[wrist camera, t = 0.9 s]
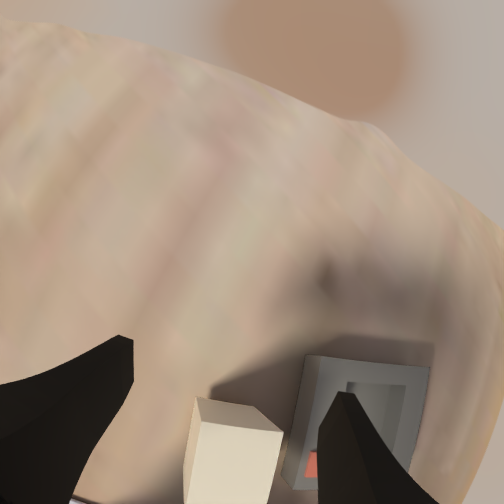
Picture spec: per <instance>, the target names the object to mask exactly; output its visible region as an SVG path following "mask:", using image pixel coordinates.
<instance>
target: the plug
mask: <svg viewBox="0 0 504 504" xmlns="http://www.w3.org/2000/svg"><path fill="white" fill-rule="evenodd" d="M283 433H284V432H283V431H282V430H280V429H279V428H278V427H277V426H276V425H275V424H273V423H272V422H271V421H270V420H269V419H268V418H266V417H265V416H264V415H263V414H262V413H261V412H260V411H259V410H257V409H256V408H255V407H254V406H248V405H242V404H235V403H229V402H223V401H217V400H212V399H206V398H201V397H196V399H195V404H194V410H193V415H192V420H191V426H190V431H189V437H188V442H187V448H186V453H185V459H184V465H183V486H184V504H267V501H268V497H269V493H270V489H271V485H272V481H273V477H274V473H275V468H276V464H277V460H278V455H279V451H280V447H281V442H282V437H283Z"/></svg>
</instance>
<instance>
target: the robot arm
mask: <svg viewBox="0 0 504 504" xmlns="http://www.w3.org/2000/svg"><path fill="white" fill-rule="evenodd" d="M133 382H134V362H133V340H132V339H129V338H126V337H123V336H121V335H117V336H115V337H113V338H111V339H109V340H108V341H106V342H104V343H102V344H100V345H98V346H97V347H95V348H93V349H91V350H89V351H87V352H86V353H84V354H82V355H80V356H78V357H76V358H74V359H72V360H70V361H68V362H66V363H64V364H61V365H59V366H57V367H55V368H53V369H50V370H48V371H46V372H43V373H40V374H38V375H35V376H32V377H29V378H26V379H22V380H19V381H14V382H10V383H6V384H2V385H0V504H86V503H83V502H80V501H77V500H74V499H72V498H71V497H72V494H73V492H74V489H75V487H76V485H77V482H78V480H79V478H80V475H81V473H82V471H83V469H84V467H85V465H86V463H87V460H88V458H89V456H90V454H91V453H92V451H93V449H94V447H95V446H96V444H97V443H98V441H99V440H100V438H101V437H102V435H103V434H104V432H105V430H106V429H107V427H108V426H109V424H110V423H111V421H112V420H113V418H114V417H115V415H116V414H117V412H118V411H119V409H120V408H121V406H122V405H123V403H124V401H125V399H126V397H127V395H128V393H129V391H130V388H131V386H132V384H133ZM317 478H318V504H439V503H438V502H437V501H435V500H434V499H433V498H432V497H431V496H430V495H429V494H428V493H426V492H425V491H424V490H423V489H422V488H421V487H420V486H419V485H418V484H417V483H416V482H415V481H414V480H413V479H412V477H411V476H410V475H409V474H408V473H407V472H406V471H405V469H404V468H403V467H402V466H401V465H400V463H399V462H398V461H397V460H396V458H395V457H394V455H393V454H392V453H391V451H390V450H389V449H388V447H387V446H386V444H385V443H384V441H383V440H382V438H381V437H380V435H379V434H378V432H377V430H376V429H375V427H374V426H373V424H372V422H371V421H370V419H369V417H368V416H367V414H366V412H365V410H364V409H363V407H362V405H361V404H360V402H359V400H358V398H357V397H356V395H355V394H354V393H348V392H342V391H338V392H337V394H336V396H335V398H334V400H333V402H332V404H331V406H330V408H329V410H328V411H327V413H326V415H325V417H324V419H323V421H322V423H321V424H320V426H319V429H318V440H317Z"/></svg>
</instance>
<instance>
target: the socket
mask: <svg viewBox="0 0 504 504" xmlns="http://www.w3.org/2000/svg"><path fill="white" fill-rule="evenodd" d="M429 370H430V367H420V366H407V365H395V364H385V363H375V362H366V361H357V360H349V359H341V358H333V357H326V356H316V355H306V356H305V361H304V367H303V373H302V378H301V383H300V389H299V394H298V399H297V404H296V409H295V414H294V419H293V424H292V428H291V433H290V437H289V442H288V446H287V451H286V455H285V460H284V464H283V468H282V472H281V476H282V477H283V479H284V480H285V481H286V482H287V483H288V485H289V486H290V487H291V488H292V489H293V490H318V478H317V440H318V429H319V426H320V424H321V423H322V421H323V419H324V417H325V415H326V413H327V411H328V410H329V408H330V406H331V404H332V402H333V400H334V398H335V396H336V394H337V392H338V391H342V392H348V393H354V394H355V395H356V397H357V398H358V400H359V402H360V404H361V405H362V407H363V409H364V410H365V412H366V414H367V416H368V417H369V419H370V421H371V422H372V424H373V426H374V427H375V429H376V430H377V432H378V434H379V435H380V437H381V438H382V440H383V441H384V443H385V444H386V446H387V447H388V449H389V450H390V451H391V453H392V454H393V455H394V457H395V458H396V460H397V461H398V462H399V463H400V465H401V466H402V467H403V468H404V469H405V471H406V472H407V473H408V470H409V466H410V463H411V459H412V455H413V452H414V448H415V443H416V439H417V435H418V431H419V426H420V421H421V417H422V412H423V406H424V401H425V395H426V389H427V383H428V377H429Z"/></svg>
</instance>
